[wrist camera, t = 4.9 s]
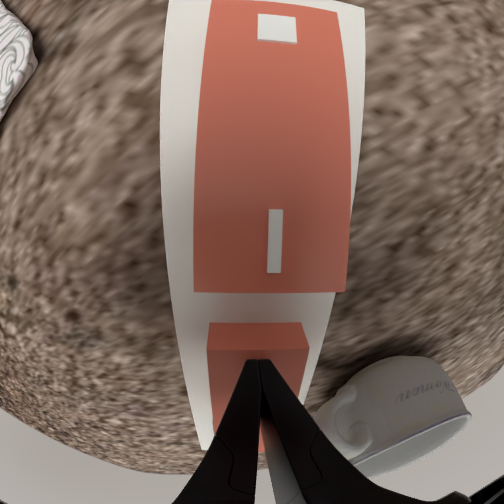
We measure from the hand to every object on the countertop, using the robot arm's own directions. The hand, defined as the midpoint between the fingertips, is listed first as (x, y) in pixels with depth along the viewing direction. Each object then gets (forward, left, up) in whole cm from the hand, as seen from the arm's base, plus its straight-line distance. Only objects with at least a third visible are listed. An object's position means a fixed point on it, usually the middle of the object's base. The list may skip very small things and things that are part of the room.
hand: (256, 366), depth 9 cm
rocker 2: (0, +4, -1) cm, 4 cm away
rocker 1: (0, -8, -1) cm, 8 cm away
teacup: (-10, +10, -6) cm, 15 cm away
